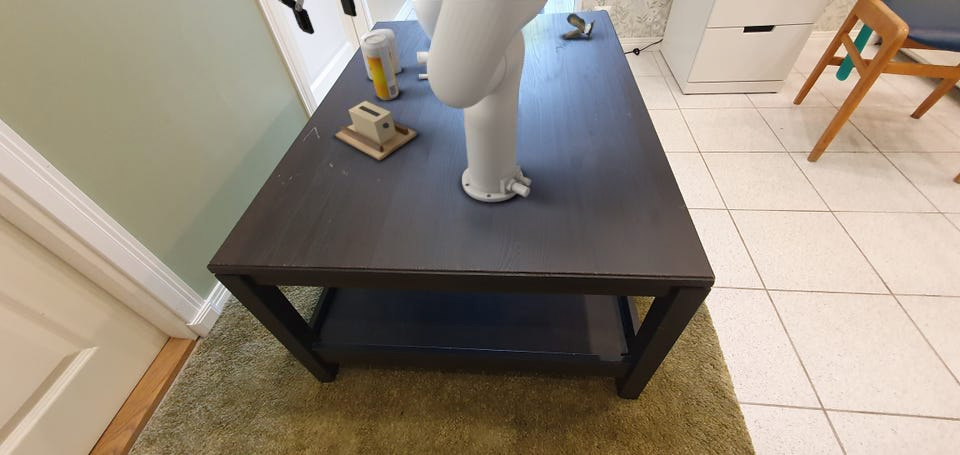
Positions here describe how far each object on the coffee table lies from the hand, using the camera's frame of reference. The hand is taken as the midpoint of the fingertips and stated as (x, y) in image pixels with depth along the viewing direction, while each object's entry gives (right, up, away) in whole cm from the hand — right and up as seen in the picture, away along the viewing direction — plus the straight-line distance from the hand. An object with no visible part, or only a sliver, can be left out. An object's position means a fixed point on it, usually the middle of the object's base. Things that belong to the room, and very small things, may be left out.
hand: (330, 23), depth 70 cm
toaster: (+3, -16, +19) cm, 25 cm away
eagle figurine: (+60, +24, +52) cm, 83 cm away
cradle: (+3, -16, +20) cm, 26 cm away
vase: (+16, +22, +54) cm, 60 cm away
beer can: (+3, -2, +33) cm, 33 cm away
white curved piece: (0, +7, +41) cm, 42 cm away
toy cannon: (+18, +6, +39) cm, 43 cm away
